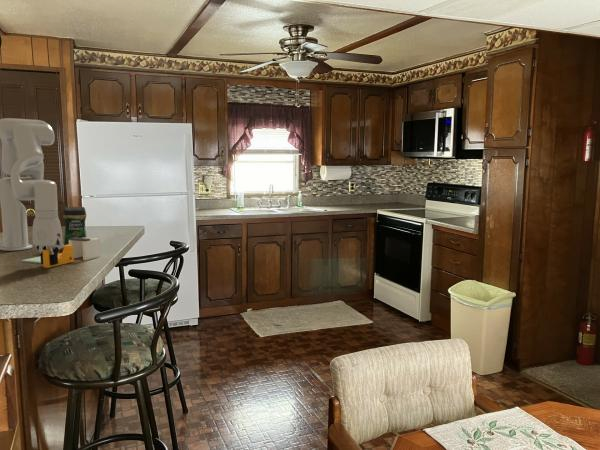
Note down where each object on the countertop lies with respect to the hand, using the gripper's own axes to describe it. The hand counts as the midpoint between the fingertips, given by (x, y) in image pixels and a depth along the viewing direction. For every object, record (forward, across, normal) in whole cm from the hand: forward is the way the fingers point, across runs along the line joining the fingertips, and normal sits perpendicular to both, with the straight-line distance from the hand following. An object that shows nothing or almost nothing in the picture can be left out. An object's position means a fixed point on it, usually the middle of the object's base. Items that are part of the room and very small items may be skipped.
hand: (49, 263), depth 185 cm
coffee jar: (+1, -21, +35) cm, 41 cm away
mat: (+1, -12, +9) cm, 15 cm away
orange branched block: (+1, 0, +4) cm, 4 cm away
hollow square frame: (+1, 0, +17) cm, 17 cm away
